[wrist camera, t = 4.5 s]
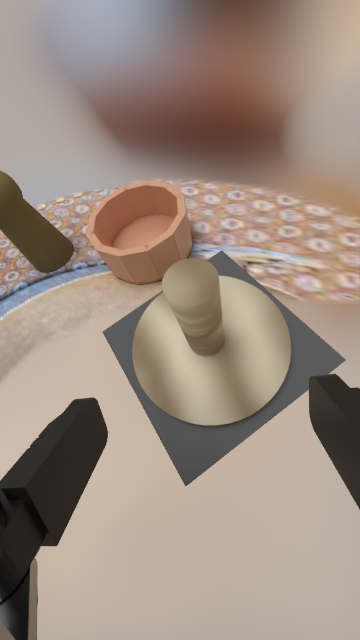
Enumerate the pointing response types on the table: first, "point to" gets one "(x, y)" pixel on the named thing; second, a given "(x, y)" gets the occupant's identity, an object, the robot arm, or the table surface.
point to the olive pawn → (31, 229)
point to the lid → (210, 346)
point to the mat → (216, 441)
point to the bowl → (141, 231)
